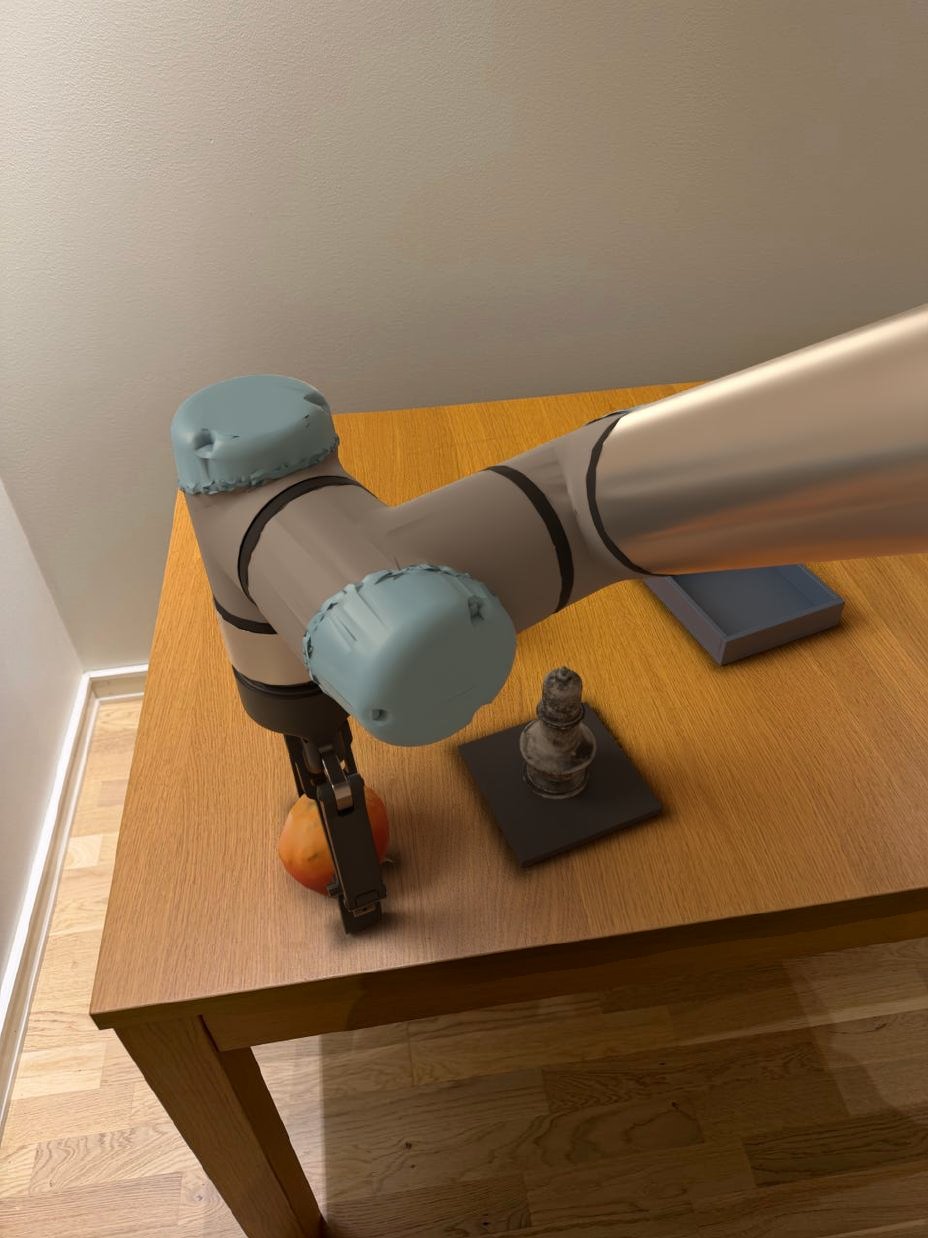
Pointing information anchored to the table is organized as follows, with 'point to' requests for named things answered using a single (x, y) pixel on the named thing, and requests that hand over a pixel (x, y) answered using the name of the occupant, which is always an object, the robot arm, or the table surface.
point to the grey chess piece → (558, 739)
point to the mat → (557, 823)
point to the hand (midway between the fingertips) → (339, 860)
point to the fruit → (323, 841)
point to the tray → (749, 607)
